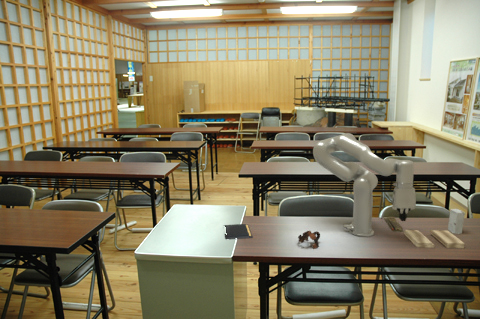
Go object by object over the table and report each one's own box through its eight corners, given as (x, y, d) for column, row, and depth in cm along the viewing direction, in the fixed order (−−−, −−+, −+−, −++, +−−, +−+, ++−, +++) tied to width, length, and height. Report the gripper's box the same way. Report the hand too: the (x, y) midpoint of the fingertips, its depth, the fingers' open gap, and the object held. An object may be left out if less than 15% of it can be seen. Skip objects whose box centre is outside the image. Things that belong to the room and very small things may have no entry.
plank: (417, 247, 172) (417, 242, 172) (404, 234, 188) (404, 230, 188) (434, 247, 172) (434, 243, 171) (420, 234, 188) (420, 230, 187)
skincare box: (447, 229, 193) (449, 208, 191) (455, 229, 193) (457, 208, 191) (454, 234, 187) (456, 212, 185) (462, 234, 187) (465, 212, 185)
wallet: (223, 223, 204) (249, 222, 205) (223, 226, 205) (249, 225, 206) (224, 237, 185) (253, 236, 186) (224, 240, 185) (253, 239, 186)
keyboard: (405, 233, 191) (405, 230, 190) (387, 232, 192) (388, 229, 192) (395, 219, 212) (395, 215, 211) (379, 218, 213) (379, 215, 213)
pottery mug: (311, 252, 170) (303, 237, 171) (300, 253, 178) (292, 239, 179) (327, 240, 176) (319, 225, 177) (316, 241, 184) (308, 227, 185)
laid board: (445, 247, 172) (445, 242, 171) (429, 234, 187) (430, 230, 187) (464, 248, 171) (464, 243, 170) (447, 234, 187) (447, 230, 186)
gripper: (391, 187, 172) (390, 223, 175) (423, 186, 171) (421, 222, 174) (386, 183, 179) (385, 218, 182) (416, 182, 178) (414, 217, 181)
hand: (402, 220), depth 178 cm, fingers closed
